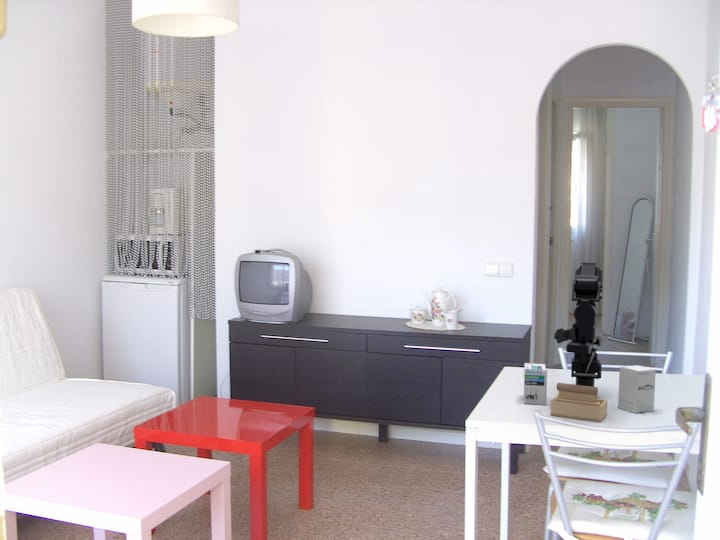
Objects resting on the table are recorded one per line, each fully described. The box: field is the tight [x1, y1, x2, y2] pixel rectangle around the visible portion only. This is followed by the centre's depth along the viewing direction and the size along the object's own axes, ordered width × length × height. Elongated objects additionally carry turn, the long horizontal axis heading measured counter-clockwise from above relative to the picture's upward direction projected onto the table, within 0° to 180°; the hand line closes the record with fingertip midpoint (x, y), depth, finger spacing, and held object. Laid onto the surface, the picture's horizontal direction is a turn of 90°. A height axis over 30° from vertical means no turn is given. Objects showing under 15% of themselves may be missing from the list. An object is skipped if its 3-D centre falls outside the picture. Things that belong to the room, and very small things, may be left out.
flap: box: [552, 382, 600, 405], centre depth 215 cm, size 3×13×5 cm, turn 61°
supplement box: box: [617, 364, 657, 414], centre depth 225 cm, size 7×7×13 cm
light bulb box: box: [523, 362, 548, 406], centre depth 235 cm, size 11×7×11 cm, turn 168°
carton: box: [549, 393, 608, 423], centre depth 218 cm, size 8×14×4 cm, turn 61°
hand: (583, 373), depth 221 cm, fingers closed
